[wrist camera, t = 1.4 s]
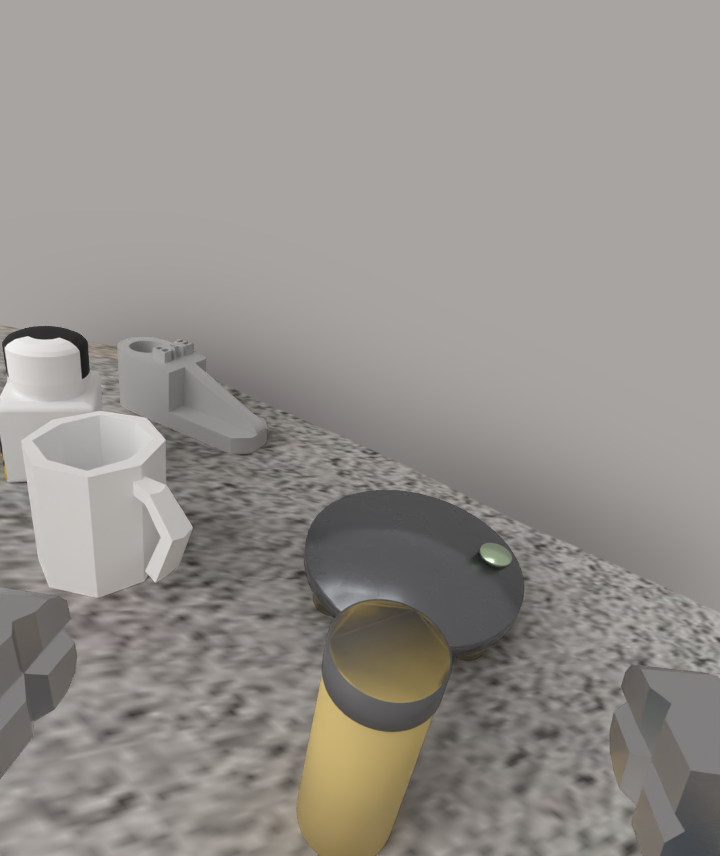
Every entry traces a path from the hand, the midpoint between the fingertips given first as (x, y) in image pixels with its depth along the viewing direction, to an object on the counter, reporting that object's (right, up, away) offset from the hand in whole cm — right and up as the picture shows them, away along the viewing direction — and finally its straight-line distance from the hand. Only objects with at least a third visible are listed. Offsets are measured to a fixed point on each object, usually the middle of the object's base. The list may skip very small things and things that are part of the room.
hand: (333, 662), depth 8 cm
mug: (-17, -7, +32) cm, 37 cm away
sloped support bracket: (-18, +4, +52) cm, 55 cm away
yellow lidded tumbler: (0, -16, +20) cm, 26 cm away
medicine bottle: (-27, 0, +42) cm, 50 cm away
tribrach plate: (+4, -9, +34) cm, 35 cm away
